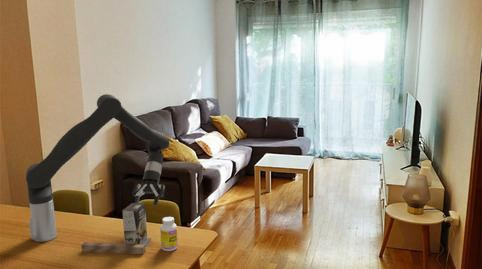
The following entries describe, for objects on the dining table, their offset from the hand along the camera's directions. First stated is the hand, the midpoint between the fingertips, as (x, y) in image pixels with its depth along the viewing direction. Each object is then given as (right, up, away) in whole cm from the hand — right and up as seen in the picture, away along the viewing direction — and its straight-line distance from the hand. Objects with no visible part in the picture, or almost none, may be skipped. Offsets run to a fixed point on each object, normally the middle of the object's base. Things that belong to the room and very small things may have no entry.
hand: (145, 205), depth 178 cm
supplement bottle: (+13, -16, -14) cm, 25 cm away
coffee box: (-1, -14, -10) cm, 18 cm away
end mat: (-1, -15, -10) cm, 18 cm away
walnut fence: (-9, -16, -16) cm, 25 cm away
